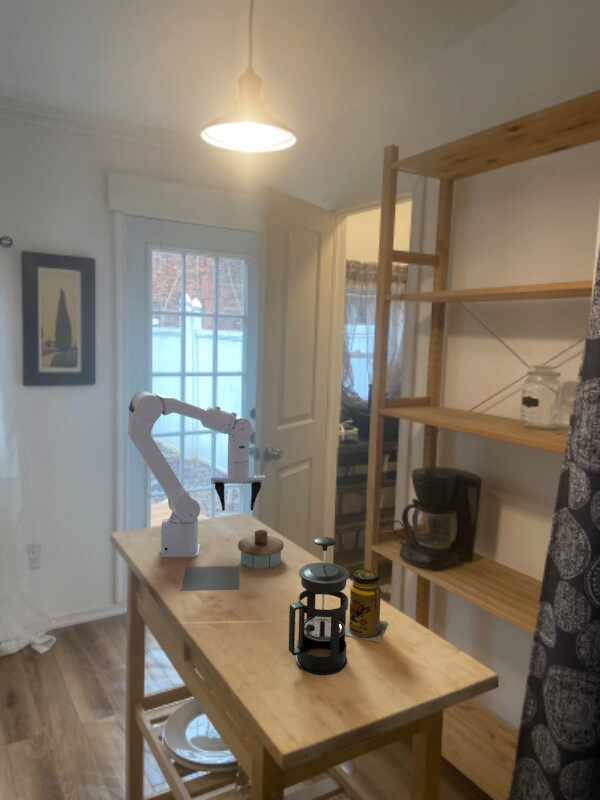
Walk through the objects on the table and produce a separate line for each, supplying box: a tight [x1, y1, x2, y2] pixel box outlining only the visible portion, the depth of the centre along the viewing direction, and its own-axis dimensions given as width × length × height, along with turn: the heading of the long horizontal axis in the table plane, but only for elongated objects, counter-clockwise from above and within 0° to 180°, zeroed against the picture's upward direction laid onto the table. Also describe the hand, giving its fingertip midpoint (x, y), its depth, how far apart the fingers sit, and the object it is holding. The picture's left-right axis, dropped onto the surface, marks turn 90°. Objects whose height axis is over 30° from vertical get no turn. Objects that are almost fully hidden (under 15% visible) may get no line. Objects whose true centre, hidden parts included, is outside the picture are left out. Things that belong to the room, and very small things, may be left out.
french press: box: [288, 536, 350, 676], centre depth 107 cm, size 12×9×23 cm
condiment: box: [345, 569, 389, 643], centre depth 120 cm, size 7×8×12 cm
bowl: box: [240, 550, 282, 569], centre depth 153 cm, size 10×10×4 cm
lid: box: [237, 529, 285, 555], centre depth 152 cm, size 12×12×4 cm
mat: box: [180, 565, 240, 592], centre depth 142 cm, size 13×13×1 cm
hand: (237, 509), depth 163 cm, fingers open, 7 cm apart
